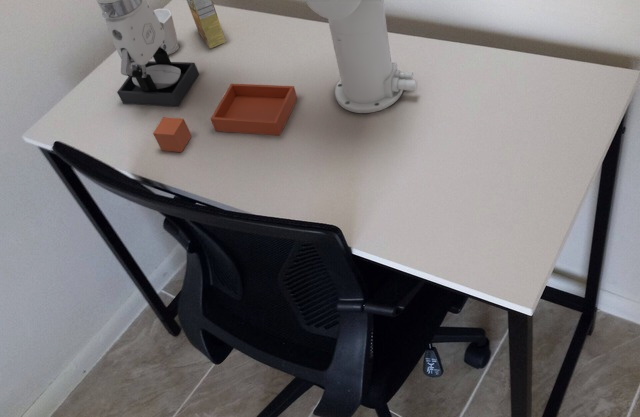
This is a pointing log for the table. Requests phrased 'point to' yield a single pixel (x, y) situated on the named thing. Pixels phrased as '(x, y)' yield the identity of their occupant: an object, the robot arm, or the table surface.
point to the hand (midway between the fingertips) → (157, 78)
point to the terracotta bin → (254, 109)
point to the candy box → (207, 22)
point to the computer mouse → (162, 75)
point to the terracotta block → (172, 134)
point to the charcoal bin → (162, 96)
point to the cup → (168, 30)
